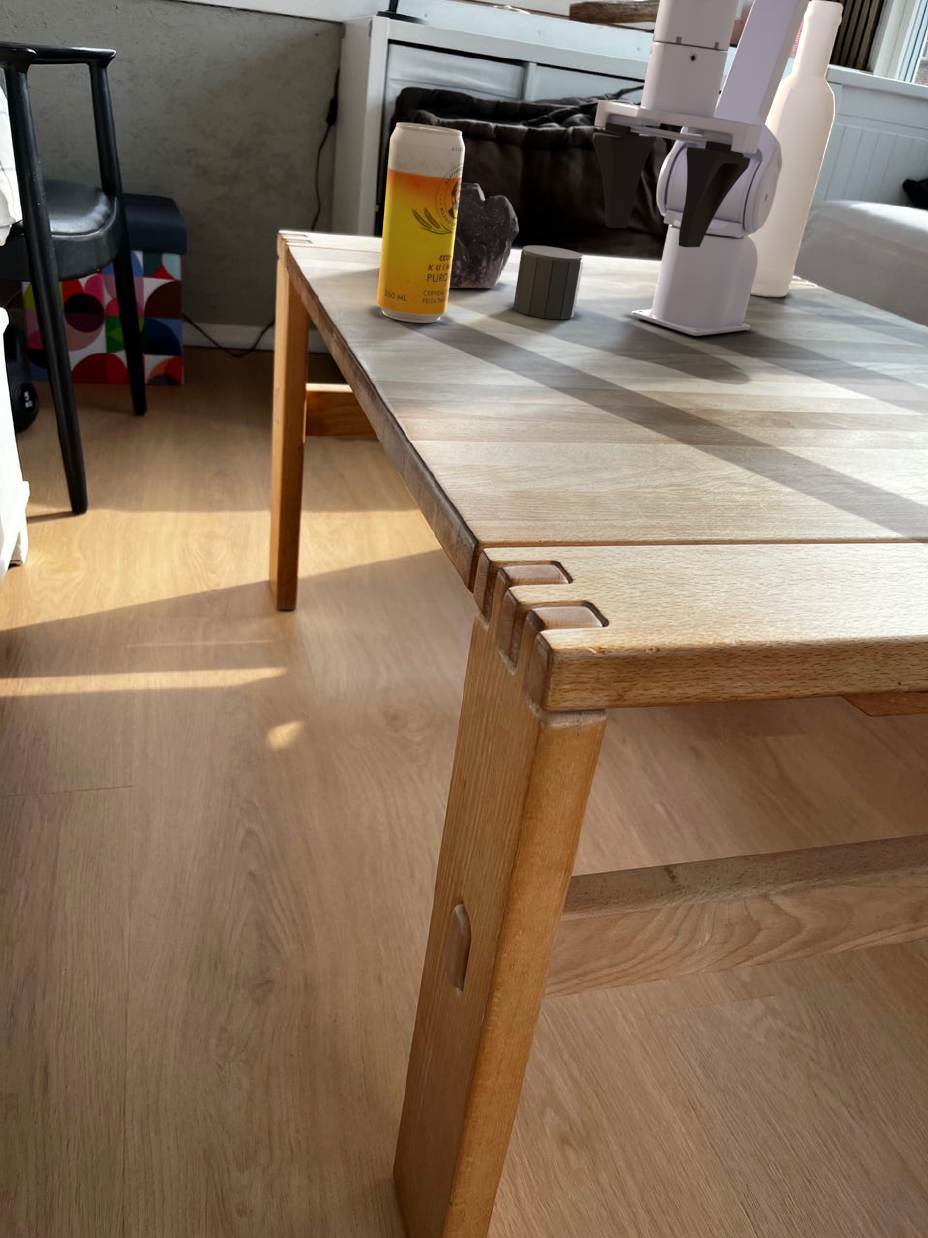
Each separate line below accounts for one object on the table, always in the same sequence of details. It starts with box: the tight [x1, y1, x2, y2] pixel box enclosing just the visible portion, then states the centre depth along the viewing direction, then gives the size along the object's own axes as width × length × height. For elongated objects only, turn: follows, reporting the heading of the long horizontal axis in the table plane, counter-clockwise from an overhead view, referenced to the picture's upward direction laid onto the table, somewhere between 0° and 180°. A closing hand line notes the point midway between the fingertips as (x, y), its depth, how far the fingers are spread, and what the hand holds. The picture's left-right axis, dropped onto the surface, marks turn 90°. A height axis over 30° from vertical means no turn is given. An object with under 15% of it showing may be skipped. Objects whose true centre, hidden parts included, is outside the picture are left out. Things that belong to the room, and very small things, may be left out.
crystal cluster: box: [449, 182, 520, 289], centre depth 104 cm, size 13×14×10 cm
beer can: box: [376, 122, 466, 324], centre depth 86 cm, size 6×6×15 cm
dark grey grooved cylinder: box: [513, 245, 585, 321], centre depth 97 cm, size 6×6×6 cm
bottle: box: [748, 0, 844, 298], centre depth 116 cm, size 8×8×30 cm
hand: (651, 236), depth 84 cm, fingers open, 7 cm apart
